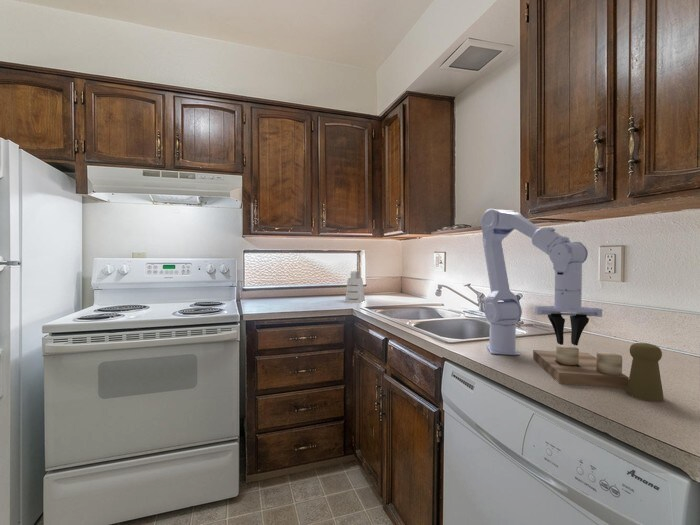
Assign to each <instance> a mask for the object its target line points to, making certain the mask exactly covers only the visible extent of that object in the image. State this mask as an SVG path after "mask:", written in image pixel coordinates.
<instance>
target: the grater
mask: <svg viewBox="0 0 700 525" xmlns="http://www.w3.org/2000/svg"><path fill="white" fill-rule="evenodd" d="M363 282H364V280H363V278H362V277H360V271H357V270H356V271H355V270H354V271H350V277H348V278H347V283H346V290H345V298H344V299H345V300H344V304H353V303H361V302H363V301H365V302H366V299H365V291H364V290H365V289H364V283H363ZM361 304H362V303H361Z"/></svg>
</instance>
